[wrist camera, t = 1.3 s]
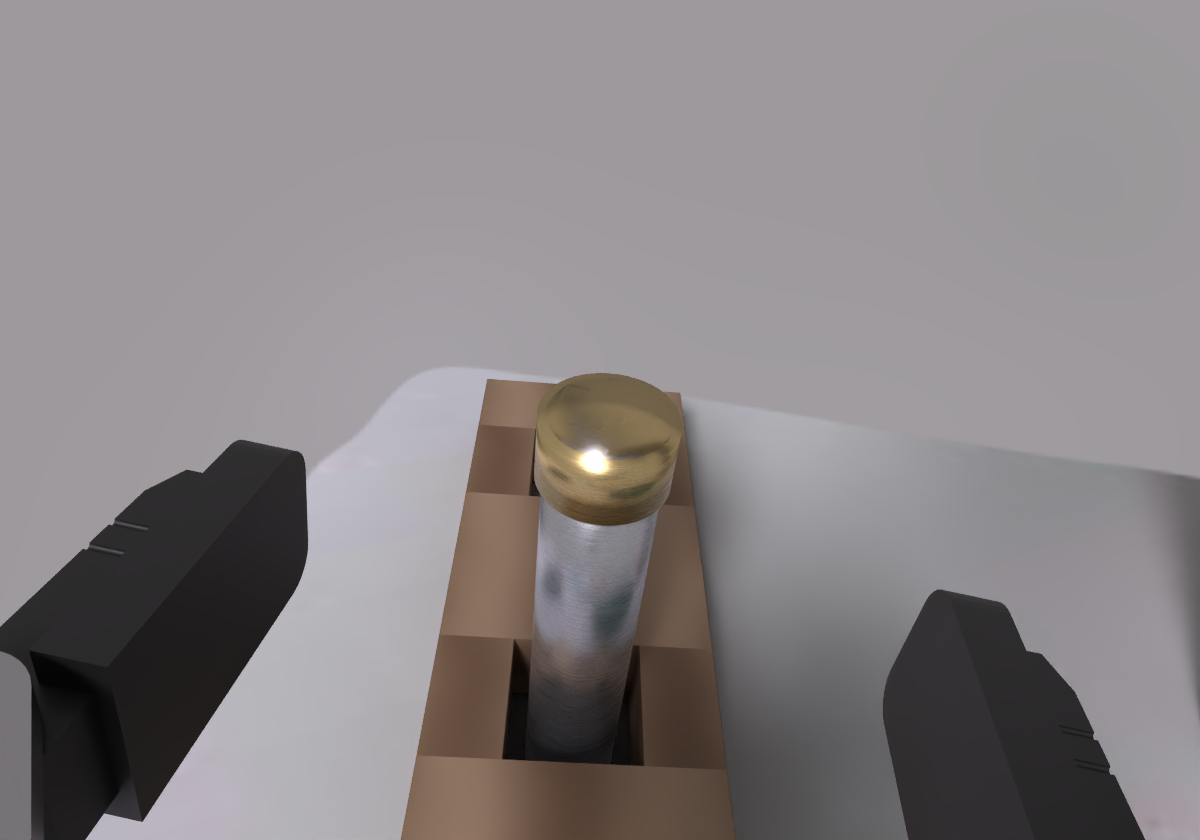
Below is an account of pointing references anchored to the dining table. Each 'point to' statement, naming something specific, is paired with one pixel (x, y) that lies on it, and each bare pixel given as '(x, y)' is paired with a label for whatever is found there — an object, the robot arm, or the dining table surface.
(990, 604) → the robot arm
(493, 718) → the stand
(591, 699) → the gold-capped metal cylinder
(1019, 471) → the dining table surface
